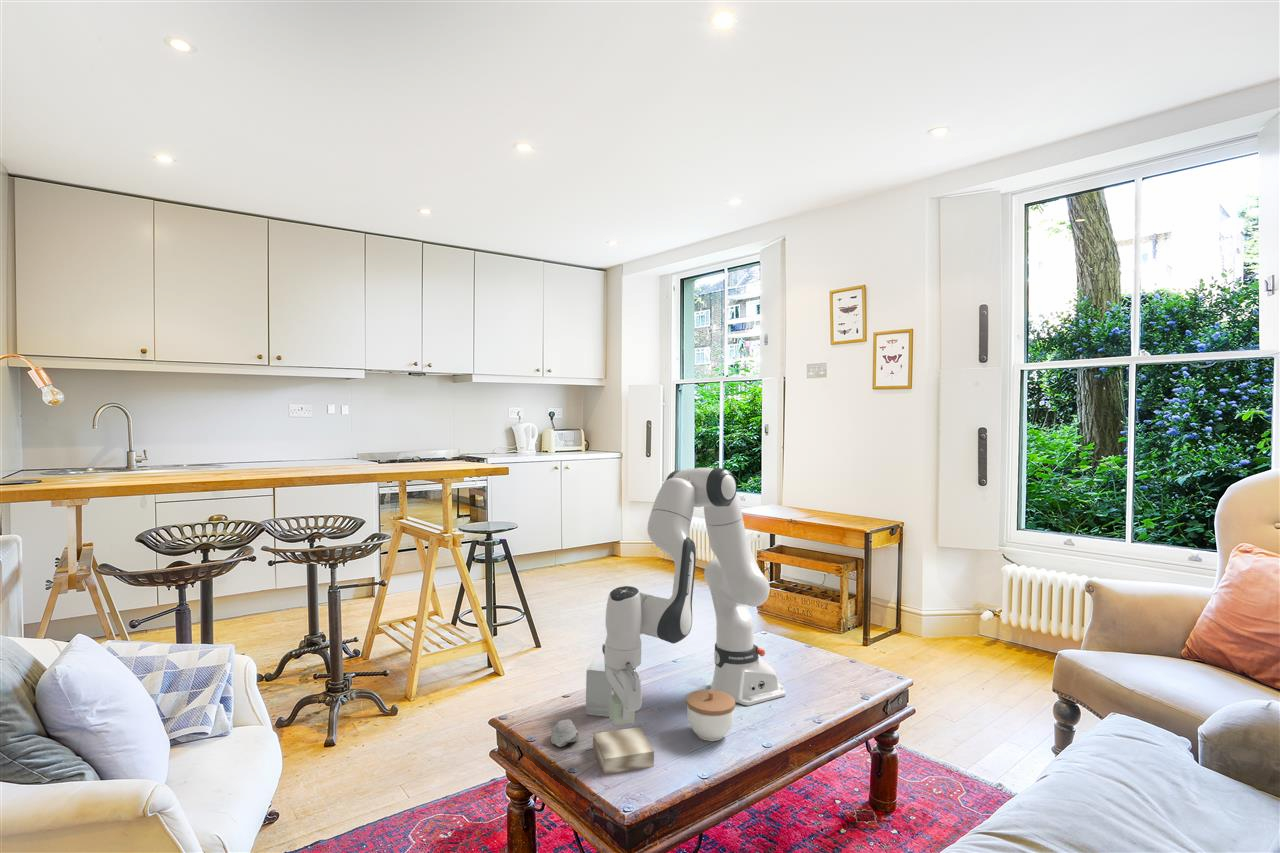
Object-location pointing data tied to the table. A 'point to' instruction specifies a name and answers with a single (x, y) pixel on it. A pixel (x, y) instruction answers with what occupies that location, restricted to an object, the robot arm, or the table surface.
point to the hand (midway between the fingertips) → (622, 712)
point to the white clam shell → (564, 733)
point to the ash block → (623, 750)
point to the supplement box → (597, 690)
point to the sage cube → (618, 711)
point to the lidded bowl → (710, 713)
